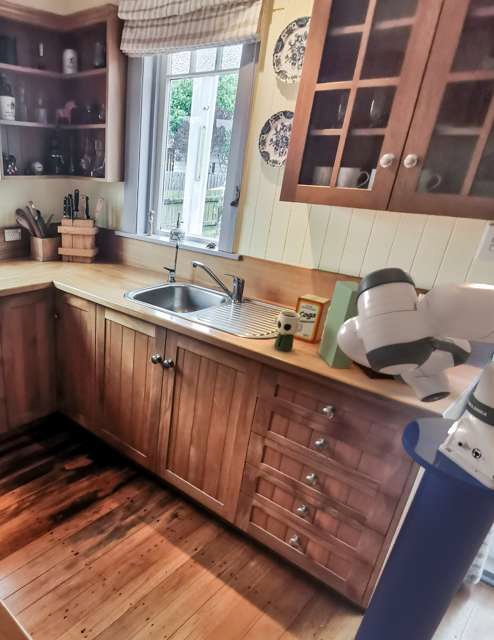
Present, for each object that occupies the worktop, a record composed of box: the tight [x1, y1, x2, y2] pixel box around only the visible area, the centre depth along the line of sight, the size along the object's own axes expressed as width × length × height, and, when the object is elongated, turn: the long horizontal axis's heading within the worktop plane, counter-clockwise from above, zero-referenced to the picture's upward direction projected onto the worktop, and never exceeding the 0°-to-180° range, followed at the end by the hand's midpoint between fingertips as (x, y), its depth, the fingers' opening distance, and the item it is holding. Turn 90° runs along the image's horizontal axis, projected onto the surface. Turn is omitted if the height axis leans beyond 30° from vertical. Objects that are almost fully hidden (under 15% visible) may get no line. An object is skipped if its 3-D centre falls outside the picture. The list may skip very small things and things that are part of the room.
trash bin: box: [351, 360, 396, 381], centre depth 155 cm, size 22×13×9 cm, turn 178°
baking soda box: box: [293, 293, 332, 345], centre depth 173 cm, size 10×6×16 cm
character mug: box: [273, 310, 303, 352], centre depth 163 cm, size 11×7×13 cm, turn 40°
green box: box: [318, 280, 359, 369], centre depth 153 cm, size 12×6×26 cm, turn 178°
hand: (404, 315), depth 142 cm, fingers open, 8 cm apart
